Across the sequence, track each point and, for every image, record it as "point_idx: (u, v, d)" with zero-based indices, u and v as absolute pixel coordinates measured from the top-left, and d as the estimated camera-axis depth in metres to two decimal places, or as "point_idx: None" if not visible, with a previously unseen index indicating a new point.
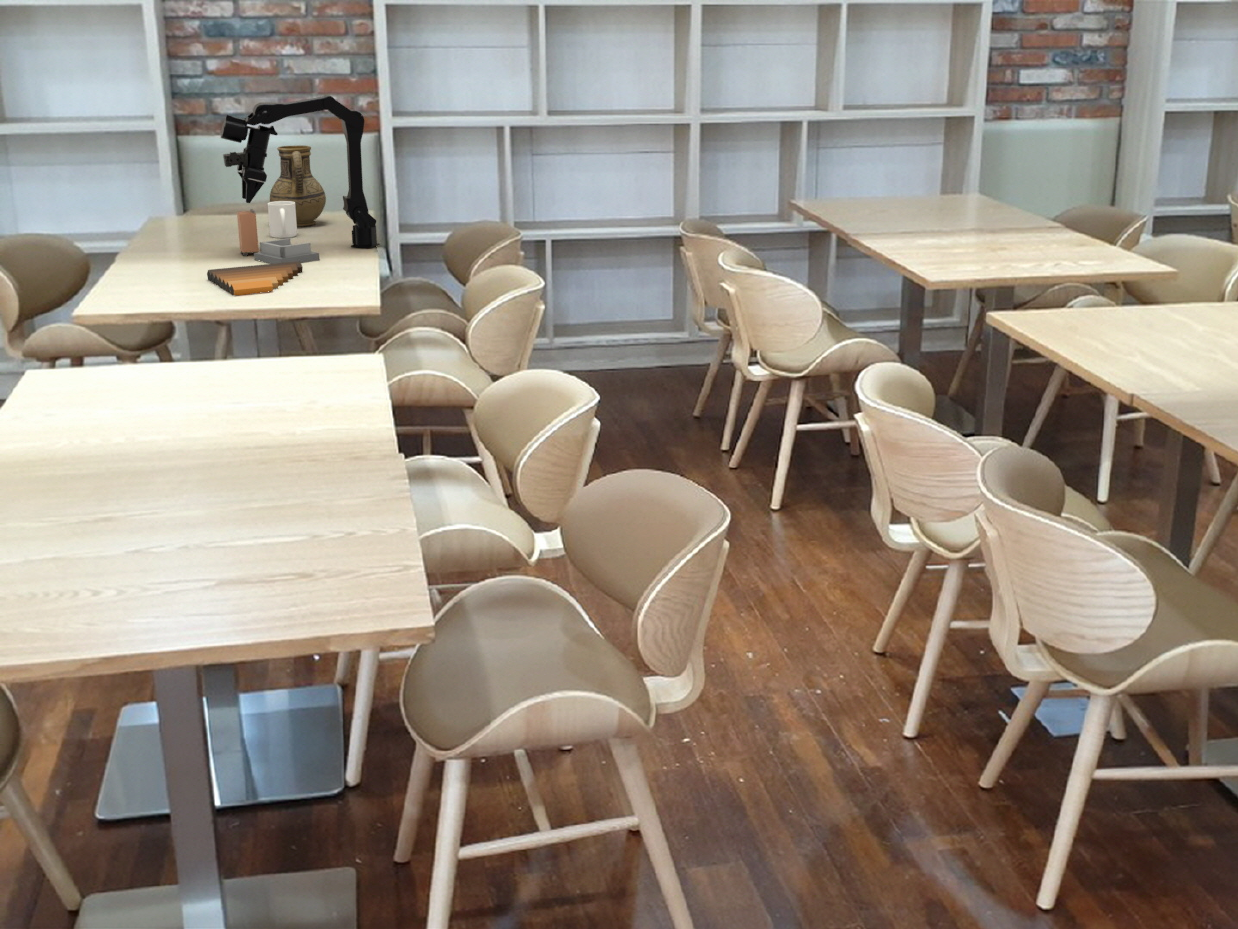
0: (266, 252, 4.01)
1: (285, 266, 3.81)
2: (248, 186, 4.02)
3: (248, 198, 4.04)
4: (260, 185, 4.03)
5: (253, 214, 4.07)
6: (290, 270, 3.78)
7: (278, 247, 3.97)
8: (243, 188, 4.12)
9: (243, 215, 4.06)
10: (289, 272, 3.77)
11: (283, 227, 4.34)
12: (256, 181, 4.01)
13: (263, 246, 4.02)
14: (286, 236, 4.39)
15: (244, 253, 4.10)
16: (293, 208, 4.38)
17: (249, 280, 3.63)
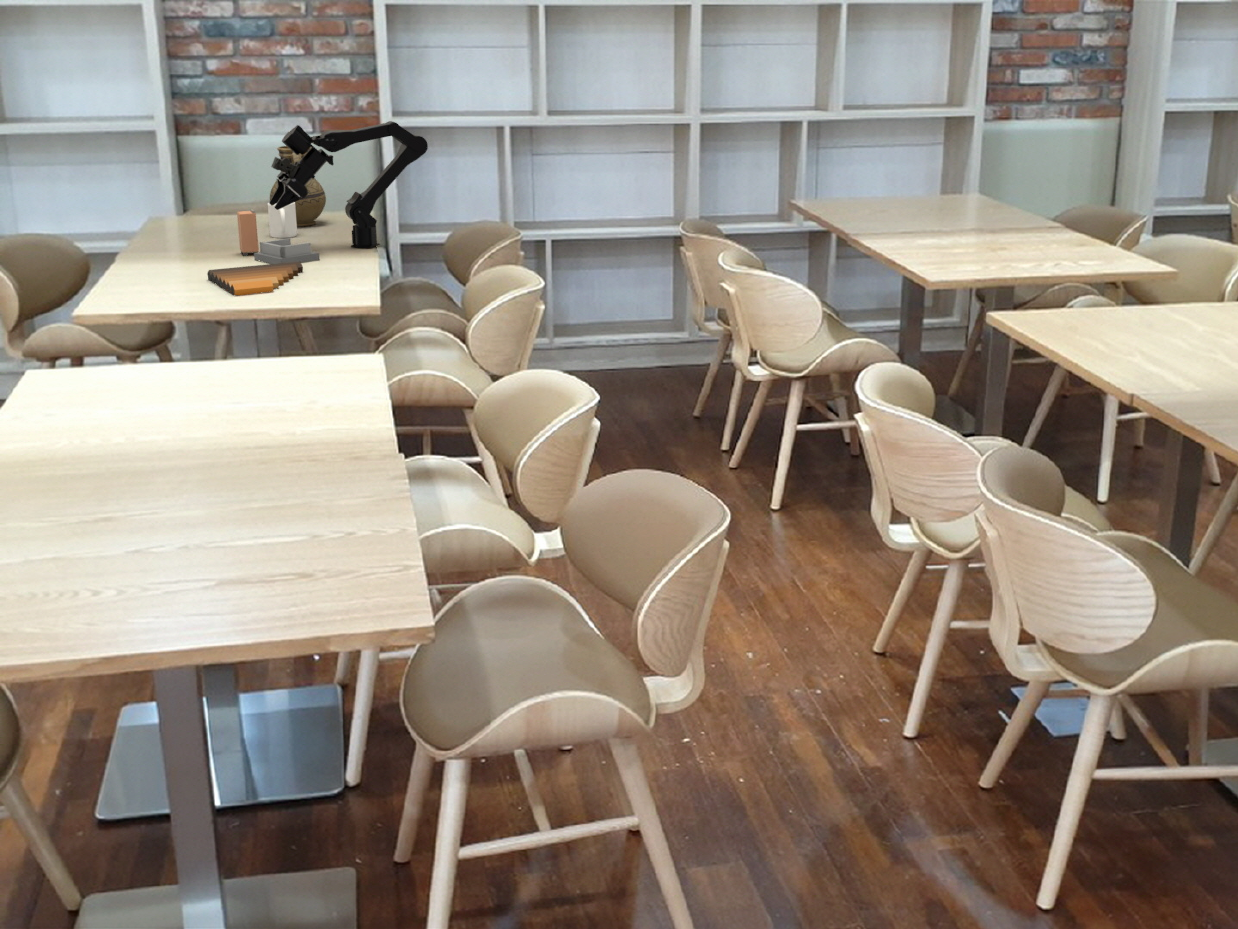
0: (266, 252, 4.01)
1: (285, 266, 3.81)
2: (285, 194, 4.06)
3: (278, 205, 4.07)
4: (296, 199, 4.07)
5: (253, 214, 4.07)
6: (290, 270, 3.78)
7: (278, 247, 3.97)
8: (274, 195, 4.15)
9: (243, 215, 4.06)
10: (289, 272, 3.77)
11: (283, 227, 4.34)
12: (295, 194, 4.05)
13: (263, 246, 4.02)
14: (286, 236, 4.39)
15: (244, 253, 4.10)
16: (293, 208, 4.38)
17: (250, 280, 3.63)
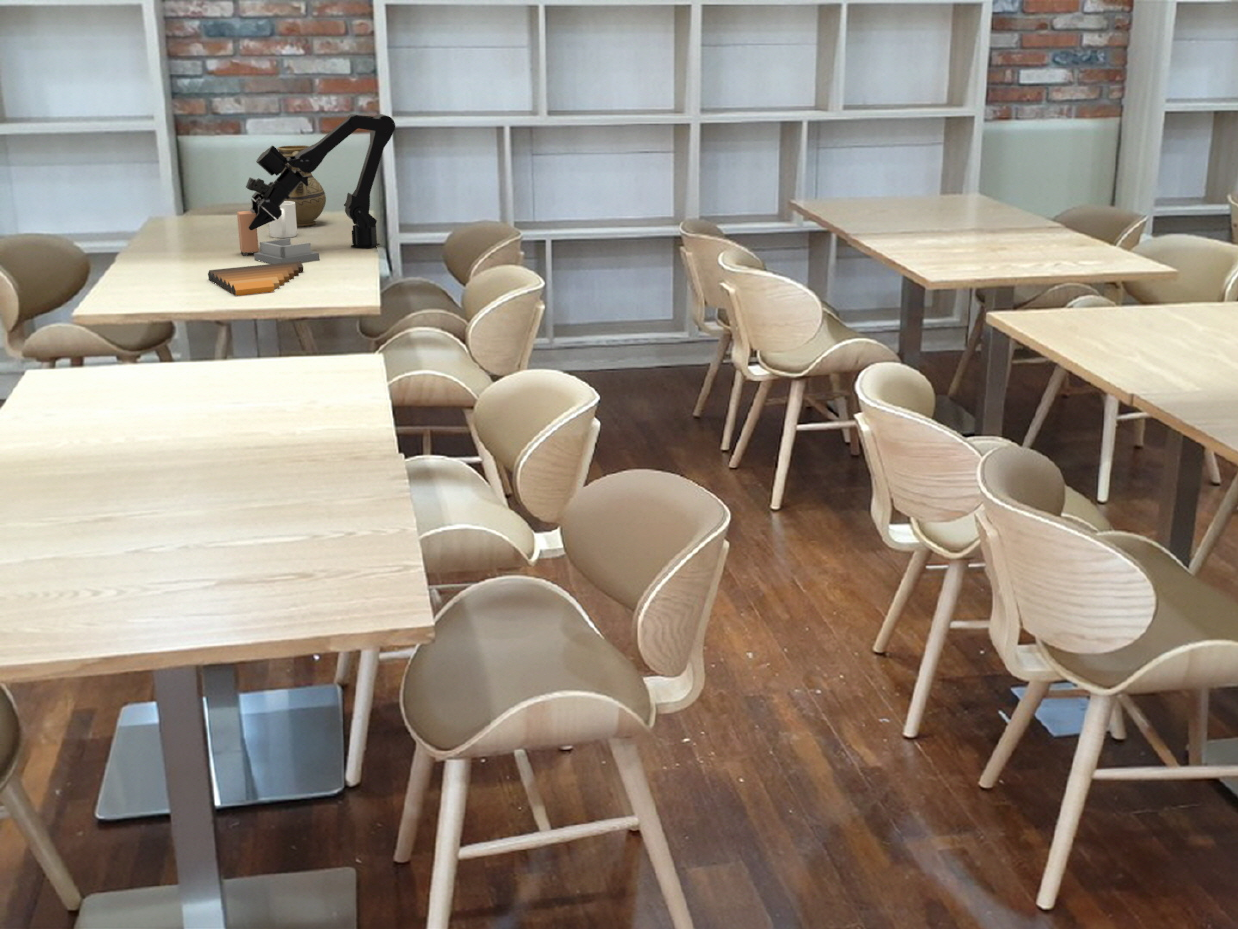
0: (266, 252, 4.01)
1: (286, 266, 3.81)
2: (259, 215, 4.05)
3: (252, 225, 4.06)
4: (270, 220, 4.06)
5: (253, 214, 4.07)
6: (291, 270, 3.78)
7: (278, 247, 3.97)
8: None
9: (243, 215, 4.06)
10: (290, 272, 3.77)
11: (283, 227, 4.34)
12: (269, 215, 4.04)
13: (263, 246, 4.02)
14: (286, 236, 4.39)
15: (244, 253, 4.10)
16: (293, 208, 4.38)
17: (250, 280, 3.63)
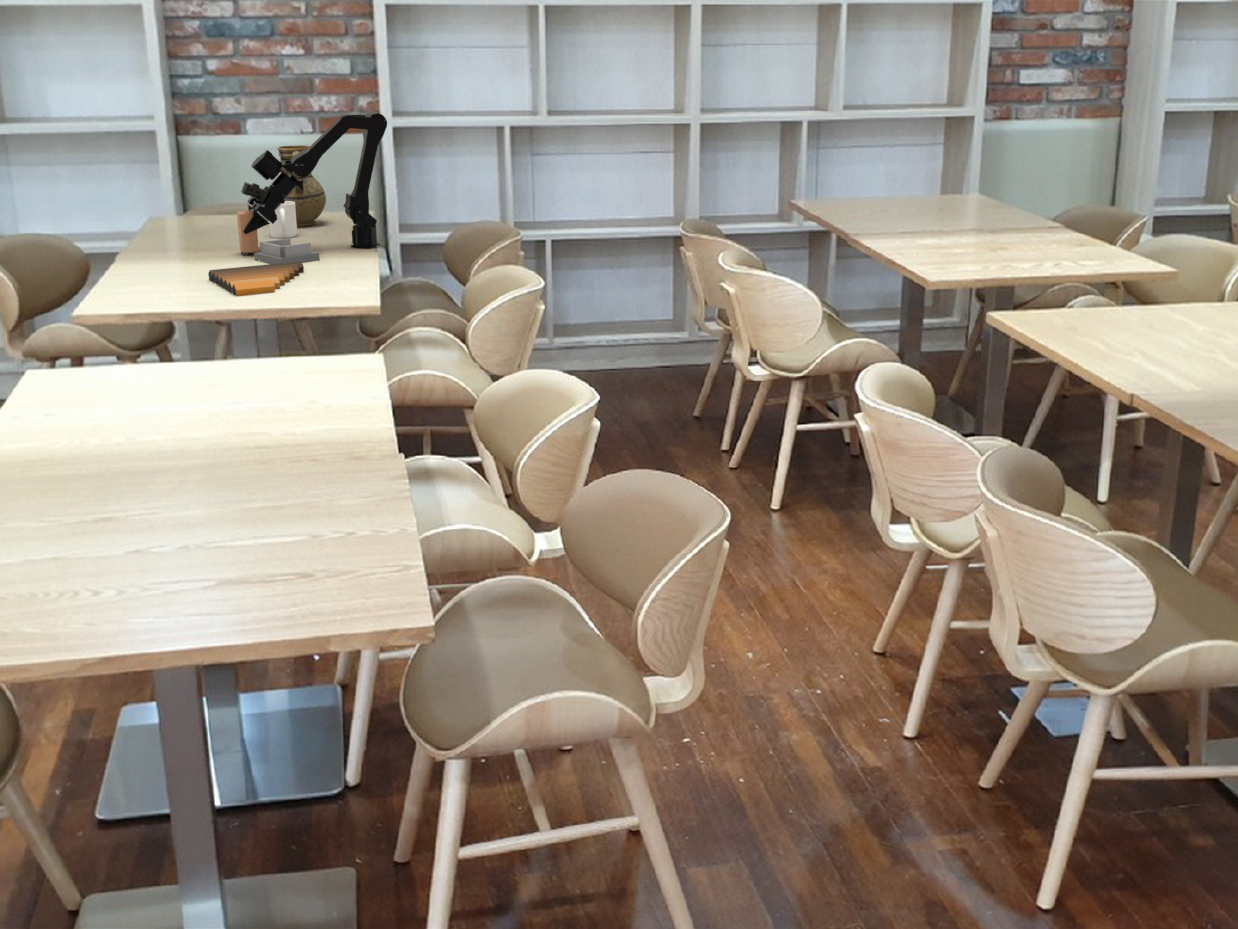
0: (266, 252, 4.01)
1: (286, 266, 3.81)
2: (253, 219, 4.06)
3: (247, 229, 4.07)
4: (264, 224, 4.07)
5: None
6: (291, 270, 3.78)
7: (278, 247, 3.97)
8: None
9: (243, 215, 4.06)
10: (290, 272, 3.77)
11: (283, 227, 4.34)
12: (263, 218, 4.05)
13: (263, 246, 4.02)
14: (286, 236, 4.39)
15: (244, 253, 4.10)
16: (293, 208, 4.38)
17: (251, 280, 3.63)
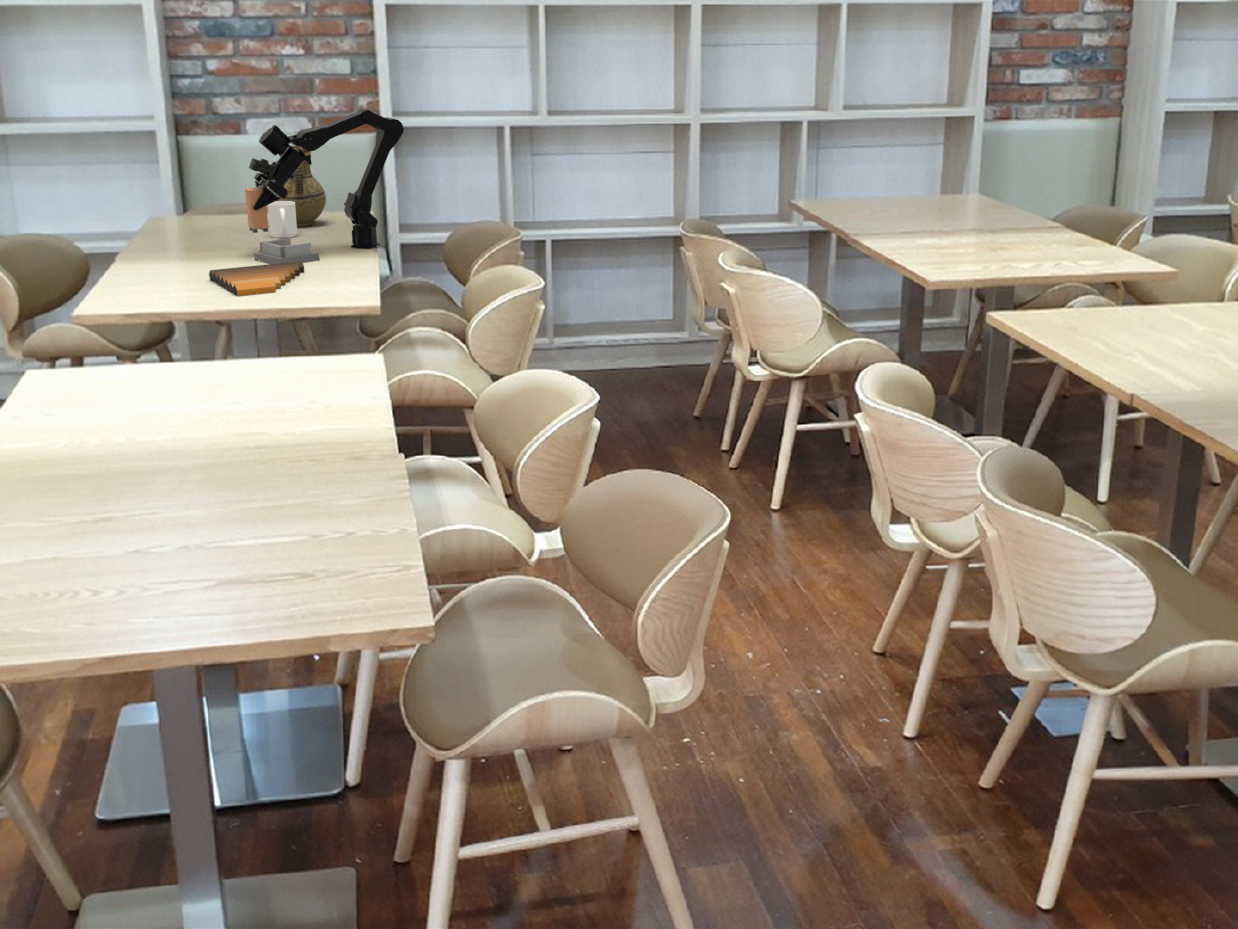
0: (266, 252, 4.01)
1: (287, 266, 3.81)
2: (263, 195, 4.03)
3: (257, 206, 4.04)
4: (274, 199, 4.04)
5: None
6: (292, 270, 3.78)
7: (278, 247, 3.97)
8: None
9: (252, 191, 4.03)
10: (291, 272, 3.77)
11: (283, 227, 4.34)
12: (273, 194, 4.02)
13: (263, 246, 4.02)
14: (286, 236, 4.39)
15: (254, 230, 4.06)
16: (293, 208, 4.38)
17: (252, 280, 3.63)
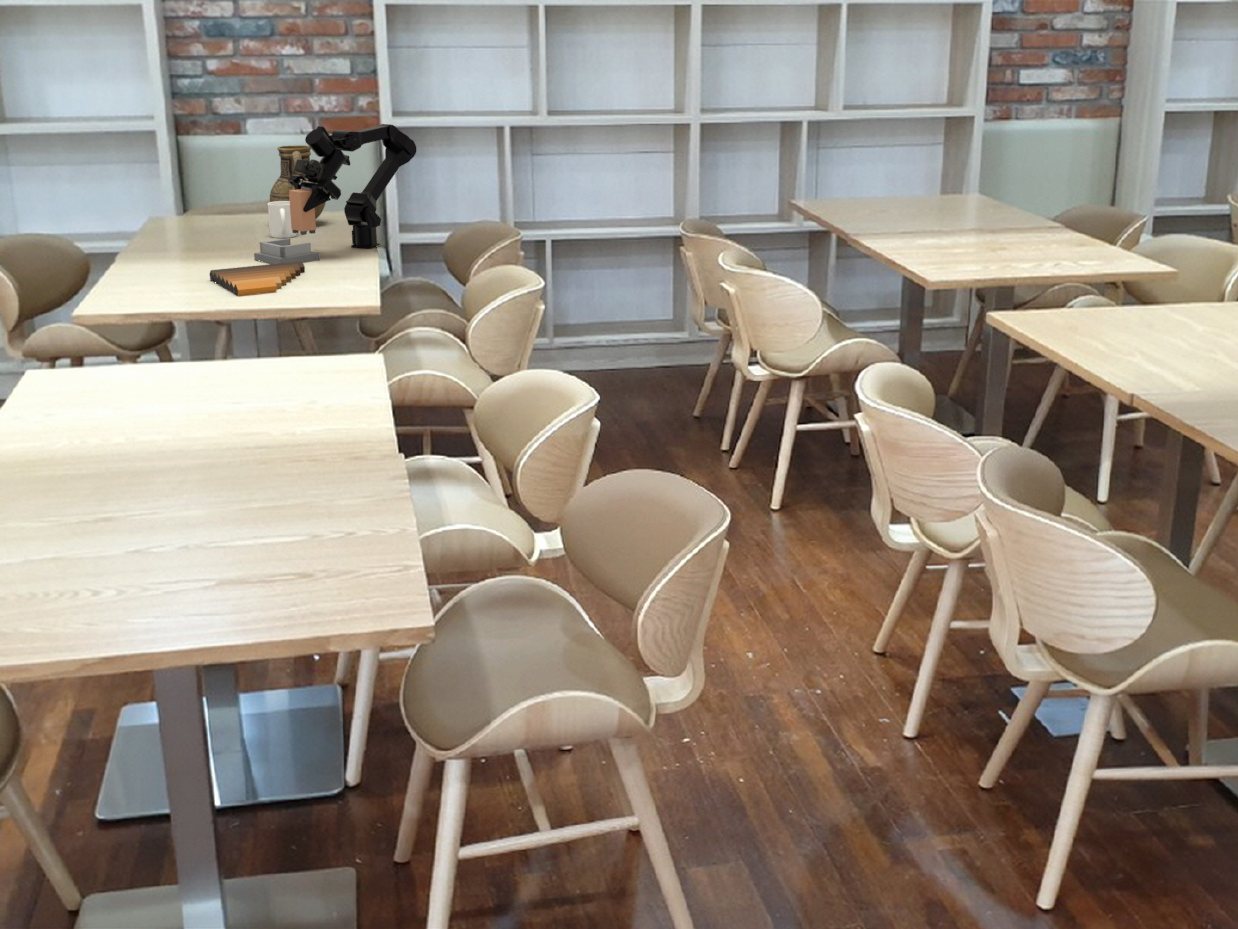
0: (266, 252, 4.01)
1: (287, 266, 3.81)
2: (314, 196, 4.01)
3: (307, 207, 4.01)
4: (324, 200, 4.03)
5: (311, 191, 4.02)
6: (293, 270, 3.78)
7: (278, 247, 3.97)
8: None
9: (303, 193, 4.00)
10: (291, 272, 3.77)
11: (283, 227, 4.34)
12: (326, 195, 4.01)
13: (263, 246, 4.02)
14: (286, 236, 4.39)
15: (304, 232, 4.03)
16: None
17: (253, 280, 3.63)
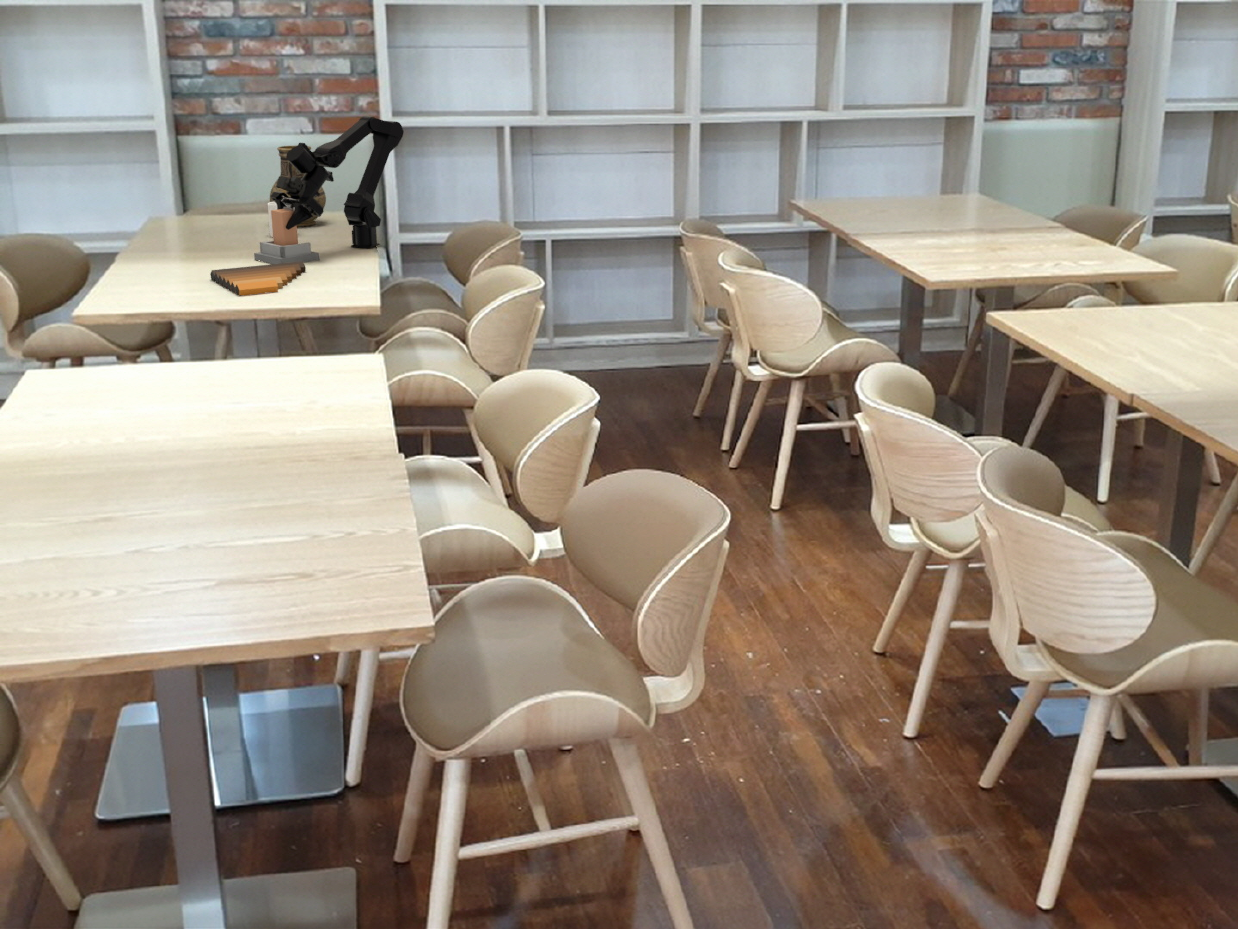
0: (266, 252, 4.01)
1: (288, 266, 3.81)
2: (296, 213, 3.98)
3: (290, 224, 3.98)
4: (307, 217, 4.00)
5: (293, 211, 3.99)
6: (294, 270, 3.78)
7: (278, 247, 3.97)
8: None
9: (285, 213, 3.97)
10: (292, 272, 3.77)
11: None
12: (308, 212, 3.98)
13: (263, 246, 4.02)
14: None
15: None
16: None
17: (254, 280, 3.63)
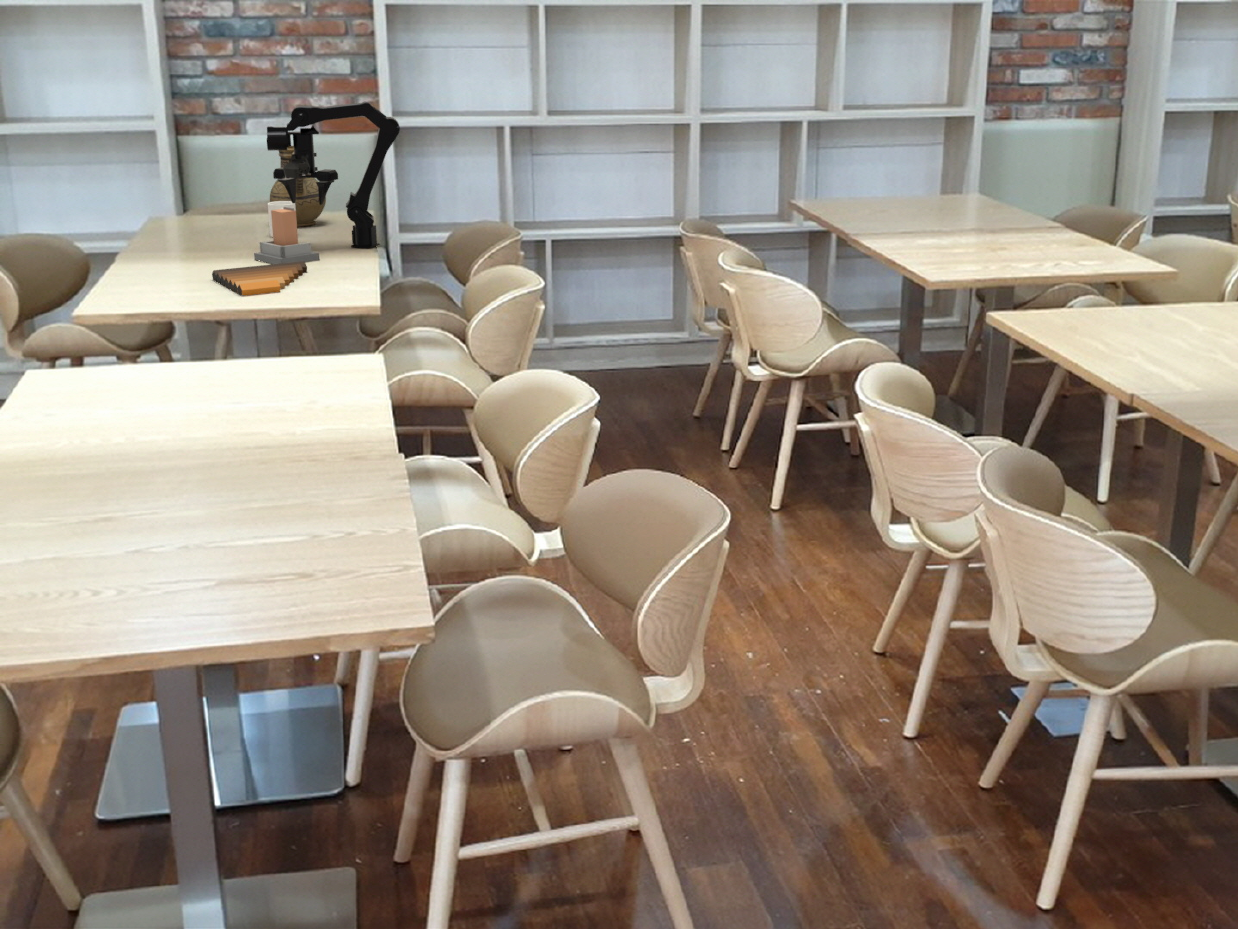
0: (266, 252, 4.01)
1: (290, 266, 3.81)
2: (322, 189, 4.14)
3: (322, 200, 4.16)
4: (329, 184, 4.16)
5: (293, 211, 3.99)
6: (295, 270, 3.78)
7: (278, 247, 3.97)
8: (291, 193, 4.18)
9: (285, 213, 3.97)
10: (294, 272, 3.77)
11: None
12: (331, 181, 4.14)
13: (263, 246, 4.02)
14: None
15: None
16: None
17: (256, 280, 3.63)
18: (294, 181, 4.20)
